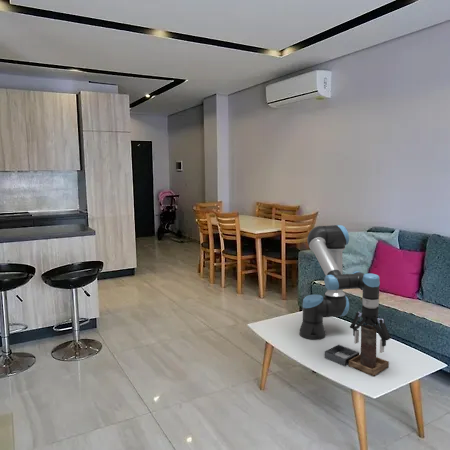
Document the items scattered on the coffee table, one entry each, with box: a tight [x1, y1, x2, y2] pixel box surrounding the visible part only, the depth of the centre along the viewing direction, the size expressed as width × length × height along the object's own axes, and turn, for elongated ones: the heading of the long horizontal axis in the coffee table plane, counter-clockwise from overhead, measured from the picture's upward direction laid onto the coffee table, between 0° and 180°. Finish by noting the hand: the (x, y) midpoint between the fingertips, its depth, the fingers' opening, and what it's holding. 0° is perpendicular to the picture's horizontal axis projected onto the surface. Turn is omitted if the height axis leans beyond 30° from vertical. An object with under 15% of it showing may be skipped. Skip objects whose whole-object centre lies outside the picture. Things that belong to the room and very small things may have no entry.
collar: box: [323, 344, 360, 367], centre depth 206 cm, size 12×12×4 cm
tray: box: [348, 353, 390, 377], centre depth 197 cm, size 14×14×3 cm
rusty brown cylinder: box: [360, 324, 377, 368], centre depth 196 cm, size 8×7×20 cm
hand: (368, 347), depth 196 cm, fingers open, 13 cm apart
